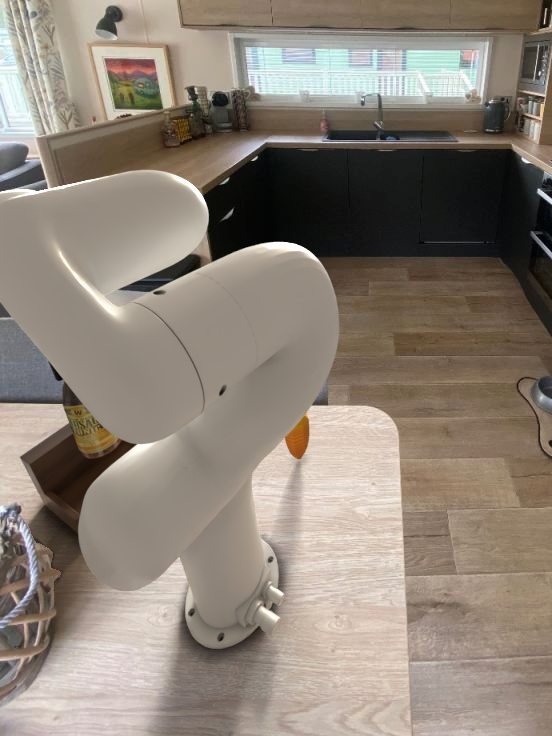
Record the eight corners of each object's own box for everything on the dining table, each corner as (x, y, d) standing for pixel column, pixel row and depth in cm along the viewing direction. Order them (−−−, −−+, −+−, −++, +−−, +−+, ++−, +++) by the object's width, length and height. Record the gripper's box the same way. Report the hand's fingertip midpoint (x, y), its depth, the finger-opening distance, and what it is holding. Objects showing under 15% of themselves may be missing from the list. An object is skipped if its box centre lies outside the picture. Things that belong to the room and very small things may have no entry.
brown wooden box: (174, 455, 75) (160, 410, 70) (85, 540, 62) (61, 491, 57) (134, 431, 80) (119, 387, 75) (44, 504, 67) (19, 456, 62)
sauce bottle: (74, 464, 63) (30, 369, 56) (93, 431, 69) (55, 341, 61) (118, 457, 64) (81, 362, 57) (133, 425, 70) (101, 335, 62)
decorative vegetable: (317, 457, 75) (312, 399, 69) (296, 476, 71) (288, 417, 66) (302, 441, 78) (296, 385, 72) (281, 458, 75) (272, 400, 69)
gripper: (103, 281, 53) (135, 382, 61) (37, 255, 60) (73, 349, 67) (38, 310, 47) (83, 419, 54) (-26, 277, 54) (21, 378, 61)
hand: (77, 379), depth 61 cm, fingers closed on sauce bottle, 4 cm apart
